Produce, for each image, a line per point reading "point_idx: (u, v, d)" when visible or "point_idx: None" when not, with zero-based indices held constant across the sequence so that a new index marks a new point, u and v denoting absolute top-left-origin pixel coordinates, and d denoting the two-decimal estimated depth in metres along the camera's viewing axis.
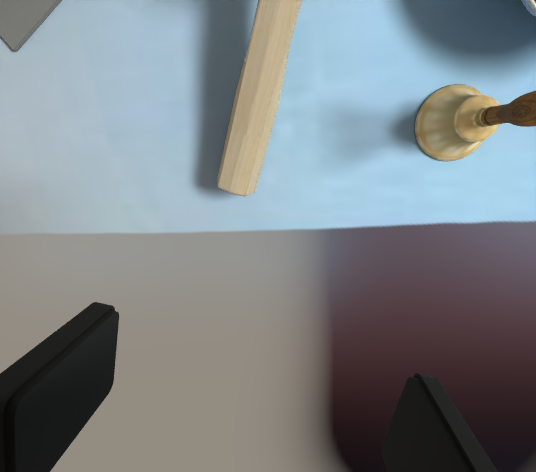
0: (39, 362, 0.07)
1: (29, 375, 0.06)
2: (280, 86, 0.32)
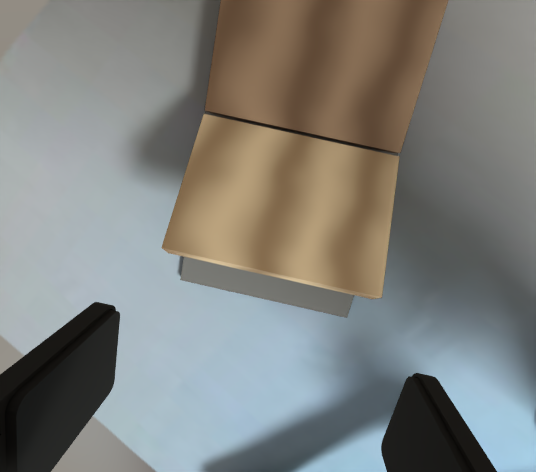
0: (40, 362, 0.07)
1: (31, 374, 0.06)
2: None
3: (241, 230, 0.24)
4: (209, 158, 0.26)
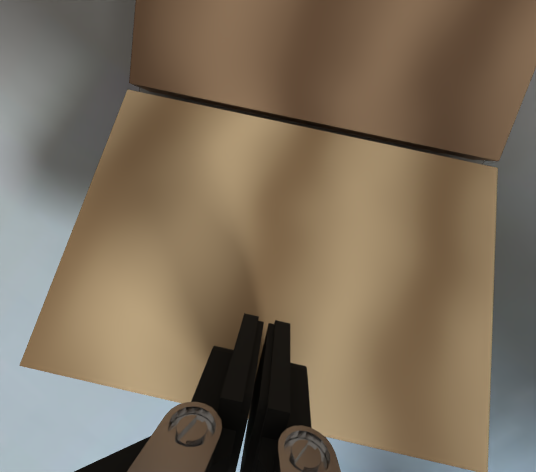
0: (244, 368, 0.08)
1: (246, 379, 0.08)
2: None
3: (190, 323, 0.12)
4: (132, 173, 0.13)
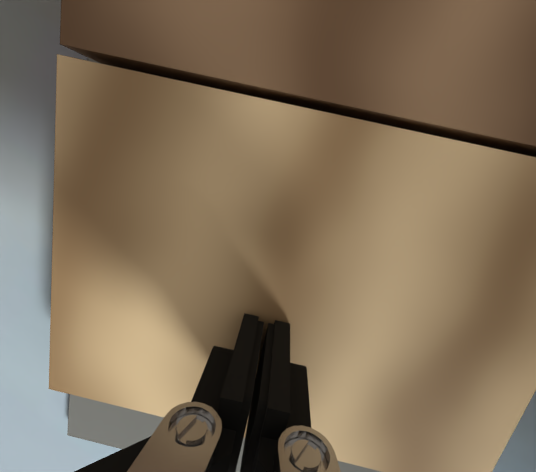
0: (244, 368, 0.08)
1: (247, 379, 0.08)
2: None
3: (195, 364, 0.11)
4: (99, 197, 0.10)
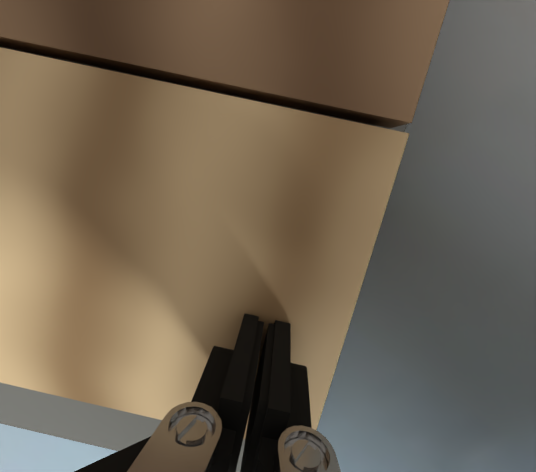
0: (244, 368, 0.08)
1: (247, 379, 0.08)
2: None
3: (22, 328, 0.12)
4: None
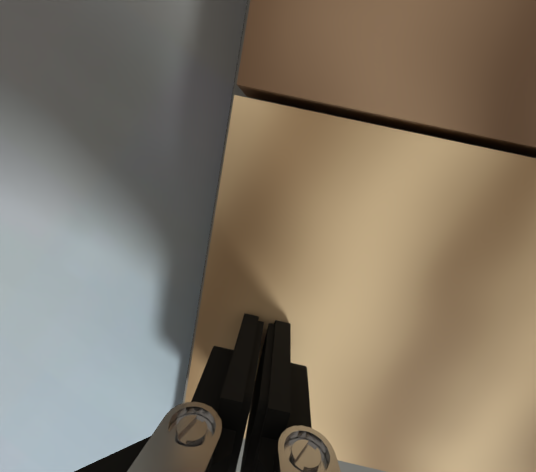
0: (244, 368, 0.08)
1: (247, 379, 0.08)
2: None
3: (340, 400, 0.11)
4: (260, 236, 0.10)
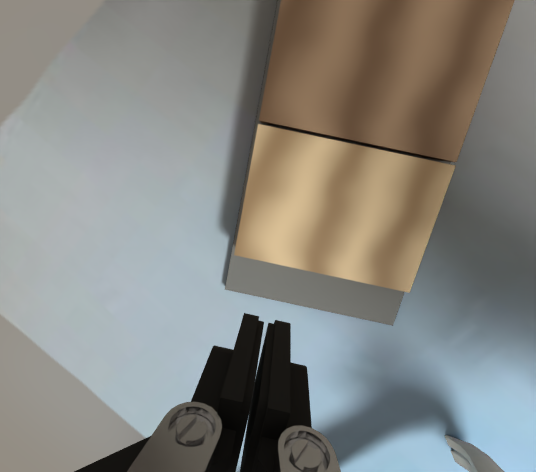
0: (244, 368, 0.08)
1: (246, 379, 0.08)
2: None
3: (297, 240, 0.29)
4: (266, 173, 0.28)
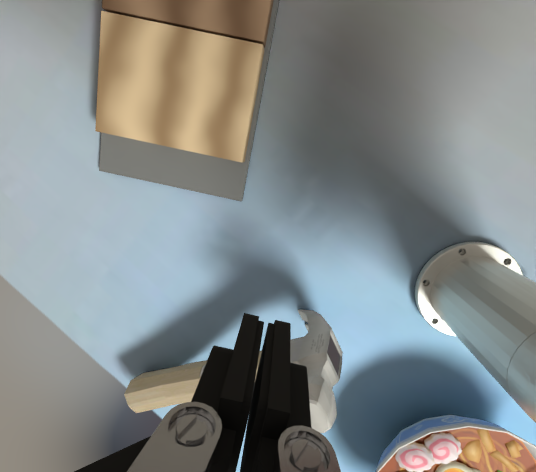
0: (244, 368, 0.08)
1: (246, 379, 0.08)
2: None
3: (145, 116, 0.35)
4: (113, 55, 0.33)
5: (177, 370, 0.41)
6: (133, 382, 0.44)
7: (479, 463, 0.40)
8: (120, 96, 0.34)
